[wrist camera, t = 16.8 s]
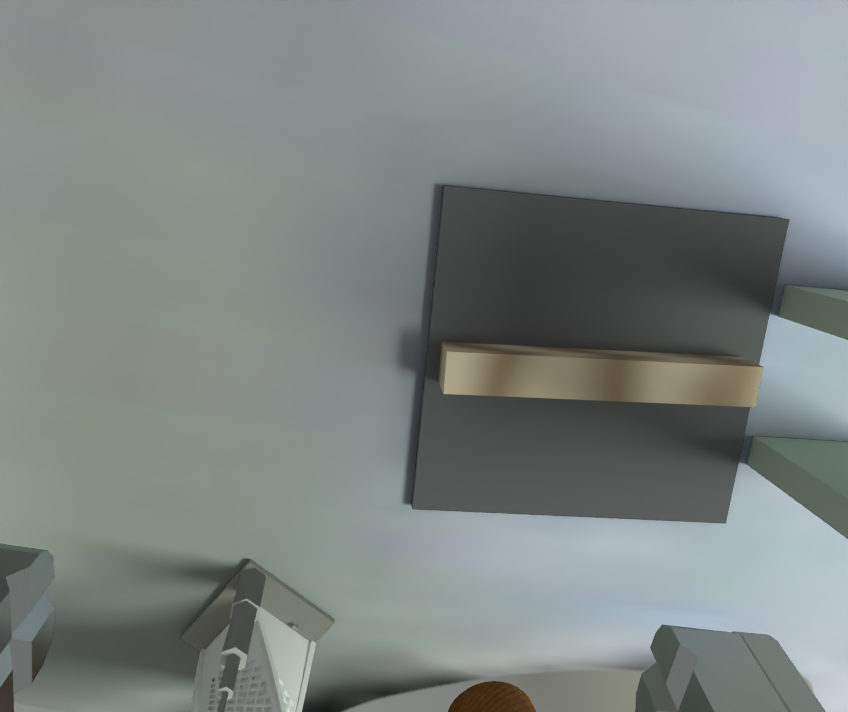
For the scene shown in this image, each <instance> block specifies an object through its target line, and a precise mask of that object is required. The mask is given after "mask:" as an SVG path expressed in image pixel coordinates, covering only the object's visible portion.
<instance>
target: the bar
mask: <svg viewBox="0 0 848 712" xmlns="http://www.w3.org/2000/svg"><path fill="white" fill-rule="evenodd" d="M762 372H763V367H762V366H760V365H758V364H756V363H754V362H751V361H749V360H747V359H745V358H743V357H734V356H715V355H695V354H675V353H655V352H636V351H616V350H596V349H576V348H557V347H537V346H517V345H497V344H477V343H458V342H442V344H441V357H440V369H439V381H438V382H439V384H440V387H441V389H442V392H443V394H458V395H481V396H505V397H528V398H552V399H575V400H599V401H622V402H646V403H669V404H692V405H716V406H739V407H756V403H757V398H758V393H759V387H760V382H761V377H762Z"/></svg>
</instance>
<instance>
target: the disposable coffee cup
mask: <svg viewBox="0 0 848 712" xmlns="http://www.w3.org/2000/svg"><path fill="white" fill-rule="evenodd" d="M448 712H536V710H535V709H534V707H533V705H532V703H531V701H530V699H529V697H528V696H527V695H526V694H525V693H524V692H523V691H522V690H520V689H519V688H518V687H516V686H513V685H511V684H508V683H504V682H496V681H492V682H484V683H480V684H477V685H474V686H472V687H470V688H468V689H467V690H465V691H464V692H463V693H461V694H460V695H459V696H458V697H457V698H456V699H455V700H454V701H453V703H452V704H451V706H450V708H449V711H448Z"/></svg>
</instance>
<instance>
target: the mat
mask: <svg viewBox="0 0 848 712" xmlns="http://www.w3.org/2000/svg"><path fill="white" fill-rule="evenodd" d="M788 223H789V219H782V218H771V217H761V216H751V215H741V214H730V213H720V212H710V211H699V210H689V209H679V208H668V207H658V206H648V205H638V204H627V203H617V202H607V201H596V200H586V199H576V198H566V197H555V196H545V195H535V194H524V193H514V192H504V191H494V190H483V189H473V188H463V187H452V186H443V192H442V203H441V213H440V223H439V233H438V243H437V253H436V263H435V273H434V284H433V294H432V304H431V314H430V324H429V334H428V344H427V354H426V365H425V375H424V385H423V395H422V405H421V415H420V425H419V436H418V446H417V456H416V466H415V476H414V486H413V496H412V509H418V510H440V511H462V512H485V513H507V514H529V515H551V516H574V517H596V518H618V519H640V520H662V521H685V522H707V523H726V520H727V515H728V510H729V505H730V501H731V496H732V491H733V486H734V482H735V477H736V472H737V467H738V462H739V458H740V453H741V448H742V443H743V438H744V434H745V429H746V424H747V419H748V415H749V410H750V407H739V406H716V405H692V404H669V403H646V402H622V401H599V400H575V399H552V398H528V397H505V396H481V395H458V394H443V392H442V389H441V387H440V384H439V382H438V381H439V369H440V357H441V344H442V342H458V343H477V344H497V345H517V346H537V347H557V348H576V349H596V350H616V351H636V352H655V353H675V354H695V355H715V356H734V357H743V358H745V359H747V360H749V361H751V362H754V363H756V364H758V365H759V362H760V357H761V352H762V347H763V343H764V338H765V333H766V328H767V324H768V319H769V314H770V309H771V304H772V300H773V295H774V290H775V285H776V280H777V276H778V271H779V266H780V261H781V256H782V252H783V247H784V242H785V237H786V233H787V228H788Z"/></svg>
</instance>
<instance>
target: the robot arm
mask: <svg viewBox="0 0 848 712" xmlns="http://www.w3.org/2000/svg"><path fill="white" fill-rule="evenodd" d="M54 578H55V577H54V557H53V555H52V554H51V553H50V552H49V551H48V550H42V549H35V548H28V547H21V546H14V545H7V544H0V712H14V696H13V694H14V693H15V692H17V691H19V690H21V689H22V688H24V687H26V686H27V685H29V684H31V683H32V682H33V680H34V679H35V677H36V675H37V674H38V672H39V670H40V669H41V667H42V665H43V663H44V660H45V658H46V655H47V652H48V650H49V647H50V644H51V641H52V636H53V630H54V624H55V606H54V605H53V604H52V603H51V601H50V600H49V599H48V597H47V596H46V595H45V594H44V592H45V591H46V590H47V588H48V587H49V585H50V584H51V582H52V581H53V580H54ZM650 648H651V651H652V653H653V655H654V658H655V660H656V663H655V664H654V665H652V666H651V667H650V668H649V669H647V670H646V671H645V672H643V673H642V675H641V678H640V682H639V685H638V689H637V692H636V710H635V712H826V711H825V710H824V709H823V707H822V706H821V704H820V703H819V701H818V700H817V698H816V697H815V695H814V694H813V692H812V691H811V690H810V688H809V687H808V685H807V684H806V682H805V681H804V679H803V678H802V676H801V675H800V673H799V672H798V670H797V669H796V668H795V666H794V665H793V663H792V662H791V660H790V659H789V657H788V656H787V654H786V653H785V651H784V650H783V649H782V647H781V646H780V644H779V643H778V641H777V640H775V639H774V638H772V637H771V636H769V635H766V634H755V633H744V632H731V633H730V632H722V631H713V630H705V629H696V628H687V627H679V626H670V625H661V627H660V628H659V629H658V630H657V632H656V633H655V636H654V639H653V642H652V644H651V647H650Z"/></svg>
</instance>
